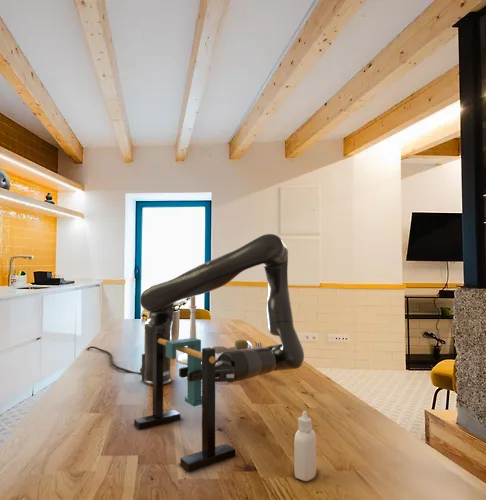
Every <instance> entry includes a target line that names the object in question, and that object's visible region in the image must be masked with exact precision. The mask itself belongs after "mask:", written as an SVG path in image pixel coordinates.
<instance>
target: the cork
mask: <svg viewBox="0 0 486 500" xmlns="http://www.w3.org/2000/svg"><path fill="white" fill-rule="evenodd" d="M247 341H248V340H245V339H236V340H235V341H234V347H235V348H236V350H240V349H247V347H248V343H247ZM248 348H249V347H248Z"/></svg>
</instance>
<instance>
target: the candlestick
mask: <svg viewBox="0 0 486 500" xmlns="http://www.w3.org/2000/svg"><path fill="white" fill-rule="evenodd" d="M188 307H189V311H190V316H189V317H190V320H189V336H188V337H189V338H196V339H197V326H196V325H197V323H196V311H197V307H198V305H196V296H193V297H190V305H188ZM189 338H188V339H189ZM177 362H178V363H181V364H186V365H187V354H186V353H183V354H181V355H179V356H178V357H177Z"/></svg>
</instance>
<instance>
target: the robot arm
mask: <svg viewBox="0 0 486 500" xmlns="http://www.w3.org/2000/svg"><path fill="white" fill-rule="evenodd" d="M260 265H263V269H264V272H265V276H266V282H267V293H266V316H267V325H268V326H267V327H268V332H269V333H270V334H271V336H276V337H279V339H280V341H281V343H280V344H273V346H271V345H269V346H262V347H260V348H255V347H253V349H240V350H234V351H227V352H223V353H222V354H219V356H218V358H215V383H222V382H227V383H230V384H231V383H234V382H235V383H236V382H240V381H245V380H250V379H253V378H255V377H259V376H264V375H267V374H268V375H269V374H270V373H272V372H276V371H277V372H278V371H287V370H288V371H289V370H297V369H300V368H301V367H302V366H303V363H304V362H305V361H304V360H305V351H304V348H303V346H302V343H301V340H300V338H299V336H298V333H297V332H296V329H295V326H294V318H293V311H292V304H291V297H290V291H289V281H288V278H289V277H288V270H289V269H288V268H289V267H288V265H289V249H288V247H287V245H286V244H285V242H284V240H282V238H281V237H280V236H278V235H277V234H274V233H266V234H263V235H260V236H258V237H257V238H254V239H253V240H251V241H249V242H247V243H246V244H244V245H243V246H240V247H238V248H237V249H235V250H233V251H230V252H228V253H225V254H223V255H221V256H218V257H216V258H213V259H211V260H208V261H206V262H204V263H201V264H199V265H197V266H196V267H194V268H192V269H189V270H187V271H186V272H184V273H182V274H180V275H178V276H176V277H174V278H172V279H170V280H167V281H164V282H161V283H158V284H153V285H150V286H148V287H146V288H145V289H144V290H143V291H142V293H141V295H140V298H139V303H140V306H141V307H142V309H144V310H145V312H149V313H148V314H149V315H148V318H147V320H146V321H145V323H144V330H143V331H144V339H143V341H144V351H143V353H141V368H139V371H140V372H137V371H132V370H129V369H128V368H124V367H122V366H121V367H120V366H118V365H116V364H115V362H114V359H113V354H112V353H111V352H109V351H108V350H105V349H102V348H100V347H97V346H94V345H93V346H89V347H87V348H86V351H89V350H90V349H95V350H97V351H100V352H102V353H105V354H108V355H109V357H110V363H111V365H112V366H113V367H114V368H116V369H118V370H120V371H123V372H126V373H130V374H137V375H141V383H144V384H147V385H150V386H153V332H159V331H160V332H163V339H165V340H168V341H172V325H173V322H174V308H175V307H174V306H175V303H176V302H179V301H181V300H184V299H190V298H191V297H193V296H195V297H196V296H200V295H203V294H206V293H209V292H210V293H211V292H212V291H214V290H217V289H220V288H223V287H224V286H226V285H227V284H229V283H230V282H232V281H233V280H234V279H235V278H236V277H237V276H239V275H240V274H241V273H243V272H244V271H247V270H249V269H252V268H254V267H257V266H260ZM178 377H179V378H182V379H183V378H186V380H187V382H188V381H189V382H192V381H197V380H201V381H202V359H201V369H200V370H194V371H189V372H188V373H187V366H183V367H179V368H178ZM171 382H172V359H171V358H168V357H166V346H165V345H163V386H164V385H168V384H170V383H171Z"/></svg>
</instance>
